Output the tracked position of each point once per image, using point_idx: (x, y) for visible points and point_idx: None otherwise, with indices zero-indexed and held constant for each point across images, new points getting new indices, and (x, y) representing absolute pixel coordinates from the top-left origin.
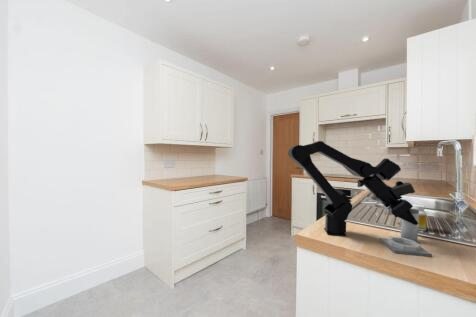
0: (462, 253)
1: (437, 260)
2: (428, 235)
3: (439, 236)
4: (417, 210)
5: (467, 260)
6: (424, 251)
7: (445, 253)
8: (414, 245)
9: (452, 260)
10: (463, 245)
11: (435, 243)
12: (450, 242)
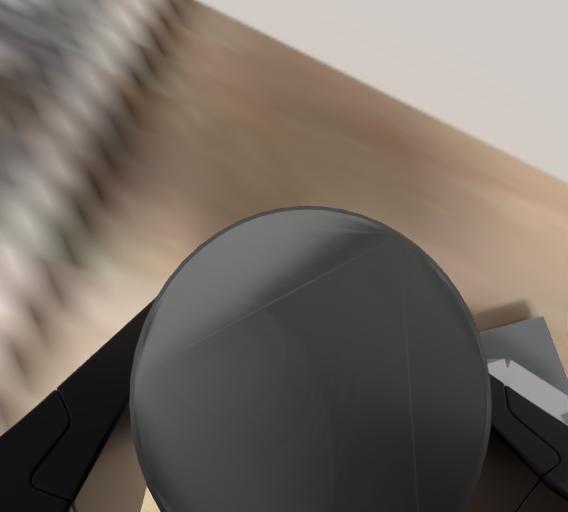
0: (360, 114)
1: (563, 305)
2: (36, 159)
3: (29, 85)
4: (347, 237)
5: (462, 144)
6: (524, 347)
7: (418, 211)
8: (546, 409)
9: (511, 222)
10: (192, 31)
11: (240, 190)
12: (162, 79)
